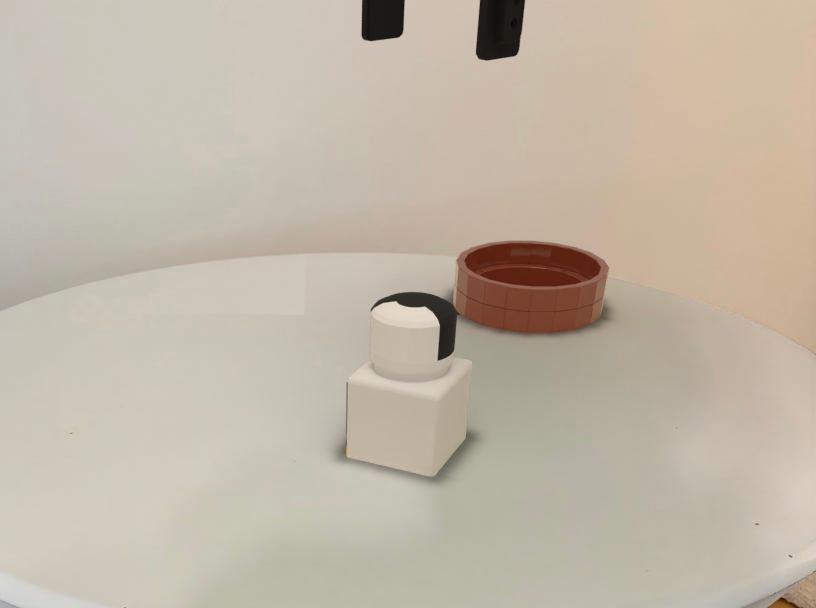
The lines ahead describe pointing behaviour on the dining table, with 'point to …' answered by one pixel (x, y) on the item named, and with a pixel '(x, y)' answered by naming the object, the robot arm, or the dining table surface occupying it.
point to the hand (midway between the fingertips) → (437, 47)
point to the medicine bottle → (409, 387)
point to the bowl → (530, 286)
